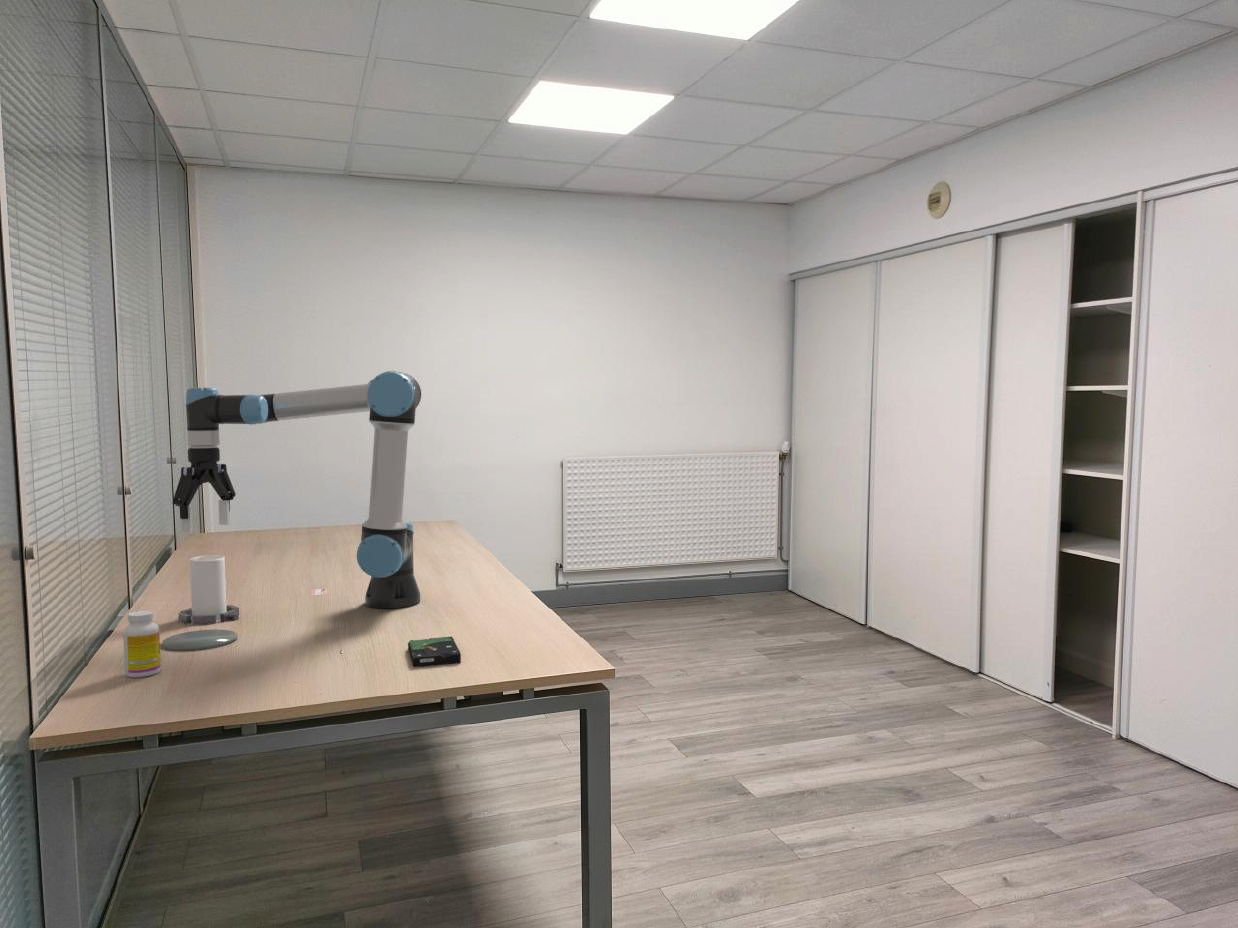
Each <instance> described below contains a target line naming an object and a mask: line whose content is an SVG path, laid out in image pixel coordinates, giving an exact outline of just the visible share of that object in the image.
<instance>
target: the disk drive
mask: <svg viewBox="0 0 1238 928" xmlns="http://www.w3.org/2000/svg"><path fill="white" fill-rule="evenodd" d="M407 650H408V654H409V658H410V660H411V664H412V666H413V668H423V667H432V666H434V667H435V666H441V665H442V666H445V665H454V664H462V654H461V651H460V649H459V648H458V645H457V643H456V642H455V640H454V638H453V636H442V637H431V638H430V637H429V638H423V639H415V640H413V639H410V640H409V641H408V642H407Z"/></svg>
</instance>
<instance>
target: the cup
mask: <svg viewBox="0 0 1238 928" xmlns="http://www.w3.org/2000/svg"><path fill="white" fill-rule="evenodd" d="M225 558H226V557H225V556H224V555H222V554H221V555H217V554H216V555H214V554H212V555H211V554H209V555H199V556H194V557H191V558H190V559H189V568H190V569H189V571H190V572H189V573H190V576H189V577H190V598H191V599H190V601H191V608H192V617H191V621H193V617H194V616H202V615H216V621H220V614H222V613H225V612H227V597H226V596H227V589H226V588H227V587H226V566H225V565H226V564H225V560H226V559H225Z"/></svg>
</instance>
